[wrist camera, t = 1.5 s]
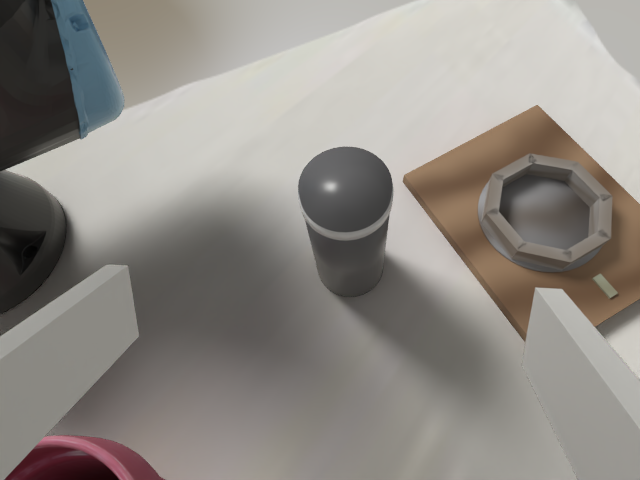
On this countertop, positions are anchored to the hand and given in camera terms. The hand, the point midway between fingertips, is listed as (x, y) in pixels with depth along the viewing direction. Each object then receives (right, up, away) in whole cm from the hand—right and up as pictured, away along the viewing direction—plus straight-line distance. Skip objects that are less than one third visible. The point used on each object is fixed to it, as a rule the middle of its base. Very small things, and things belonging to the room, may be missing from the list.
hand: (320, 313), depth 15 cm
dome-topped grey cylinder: (+3, 0, +27) cm, 27 cm away
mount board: (+20, +4, +27) cm, 34 cm away
